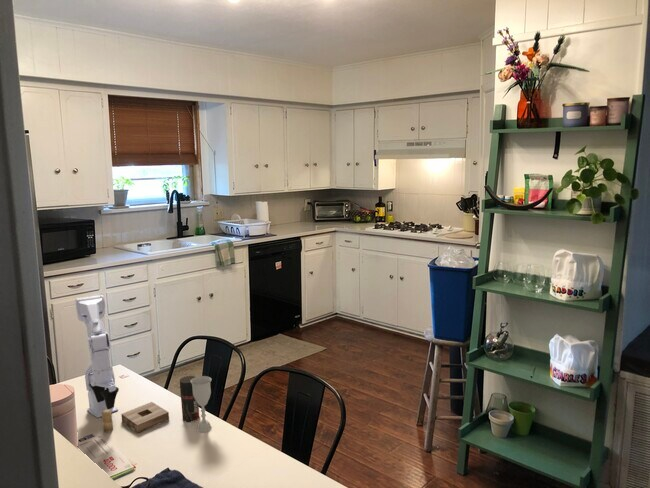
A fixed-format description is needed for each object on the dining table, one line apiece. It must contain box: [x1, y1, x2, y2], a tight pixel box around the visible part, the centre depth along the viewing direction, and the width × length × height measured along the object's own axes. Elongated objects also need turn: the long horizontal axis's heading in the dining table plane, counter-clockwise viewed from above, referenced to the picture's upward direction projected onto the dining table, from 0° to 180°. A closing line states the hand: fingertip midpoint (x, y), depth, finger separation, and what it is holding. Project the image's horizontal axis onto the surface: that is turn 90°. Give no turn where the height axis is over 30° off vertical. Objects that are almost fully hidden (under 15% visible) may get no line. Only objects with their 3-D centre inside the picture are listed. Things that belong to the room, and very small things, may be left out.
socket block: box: [120, 401, 170, 434], centre depth 190 cm, size 12×12×3 cm
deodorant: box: [179, 375, 200, 423], centre depth 190 cm, size 6×6×15 cm
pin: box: [101, 410, 114, 433], centre depth 184 cm, size 3×3×7 cm
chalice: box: [190, 375, 213, 433], centre depth 183 cm, size 7×7×18 cm
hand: (105, 404), depth 183 cm, fingers open, 7 cm apart
